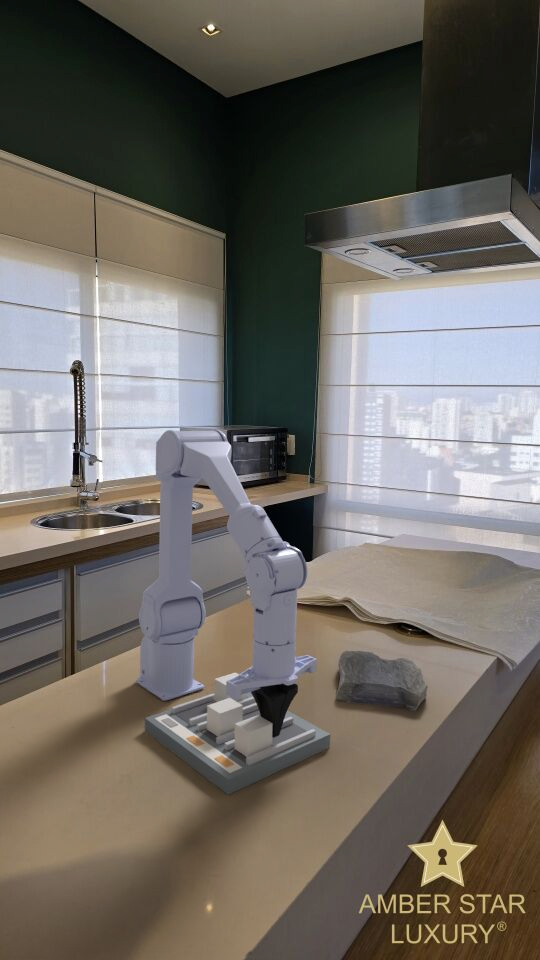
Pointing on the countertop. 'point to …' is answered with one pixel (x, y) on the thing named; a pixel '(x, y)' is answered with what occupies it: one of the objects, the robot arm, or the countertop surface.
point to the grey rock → (380, 681)
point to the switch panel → (232, 743)
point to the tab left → (221, 688)
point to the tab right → (253, 735)
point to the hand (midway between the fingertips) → (271, 733)
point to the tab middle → (223, 716)
